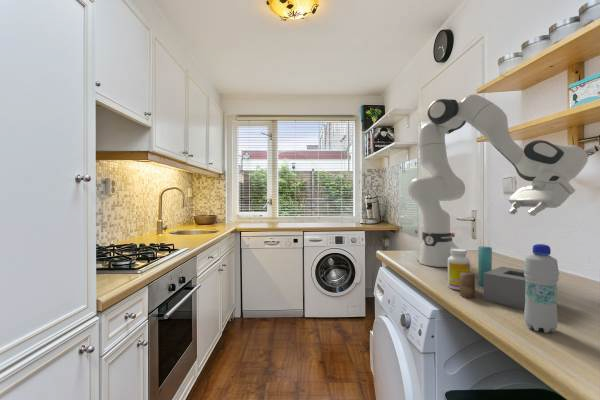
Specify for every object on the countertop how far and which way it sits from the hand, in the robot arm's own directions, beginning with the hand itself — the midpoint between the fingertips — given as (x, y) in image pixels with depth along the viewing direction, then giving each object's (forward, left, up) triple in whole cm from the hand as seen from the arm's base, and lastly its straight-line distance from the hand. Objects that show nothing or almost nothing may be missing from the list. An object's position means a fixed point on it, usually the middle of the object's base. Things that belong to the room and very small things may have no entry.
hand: (520, 213), depth 112 cm
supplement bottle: (+21, -11, -25) cm, 34 cm away
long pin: (+10, -7, -25) cm, 27 cm away
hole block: (+20, +6, -24) cm, 32 cm away
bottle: (+38, +17, -25) cm, 48 cm away
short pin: (+27, -5, -25) cm, 37 cm away
